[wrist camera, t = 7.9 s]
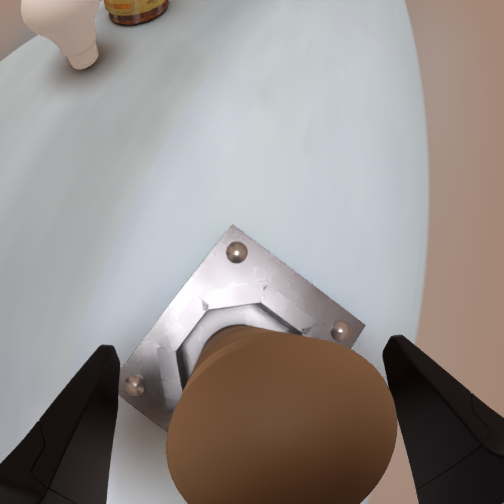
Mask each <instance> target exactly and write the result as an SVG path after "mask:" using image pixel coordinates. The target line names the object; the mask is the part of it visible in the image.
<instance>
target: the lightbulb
mask: <svg viewBox="0 0 504 504" xmlns="http://www.w3.org/2000/svg"><path fill="white" fill-rule="evenodd" d="M99 4H100V0H22V2H21V14H22V19H23V21H24V22H25V24H26V25H27V27H28V28H29V29H30V30H32V31H33V32H35V33H37V34H39V35H41V36H43V37H46V38H48V39H50V40H51V41H53V42H54V43H55V44H56V45H57V46H58V48H59V49H60V51H61V53H62V54H63V55H65V56H66V57H67V58H68V60H69V62H70V64H71V65H72V67H73V68H75V69H84V68H87V67H89V66H91V65H92V64H93V63H94V62H95V61H96V60H97V58H98V55H99V54H98V50H97V46H96V42H95V40H96V32H95V25H94V21H95V15H96V12H97V9H98V7H99Z"/></svg>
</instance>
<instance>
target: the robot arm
mask: <svg viewBox="0 0 504 504" xmlns="http://www.w3.org/2000/svg"><path fill="white" fill-rule="evenodd" d="M382 356H383V362H384V366H385V371H386V376H387V381H388V386H389V390H390V392H391V395H392V397H393V400H394V404H395V408H396V414H397V419H398V422H399V425H400V429H401V433H402V436H403V440H404V443H405V447H406V451H407V455H408V459H409V463H410V466H411V471H412V475H413V479H414V483H415V488H416V493H417V497H418V502H419V504H504V418H503V417H502V416H501V415H499V414H498V413H496V412H495V411H494V410H492V409H491V408H489V407H488V406H487V405H486V404H485V403H483V402H482V401H481V400H480V399H478V398H477V397H476V396H475V395H474V394H473V393H471V392H470V391H469V390H468V389H467V388H465V387H464V386H463V385H462V384H461V383H460V382H458V381H457V380H456V379H455V378H454V377H453V376H451V375H450V374H449V373H448V372H447V371H445V370H444V369H443V368H442V367H441V366H439V365H438V364H437V363H436V362H435V361H433V360H432V359H431V358H430V357H429V356H427V355H426V354H425V353H424V352H423V351H421V350H420V349H419V348H418V347H417V346H415V345H414V344H413V343H412V342H410V341H409V340H408V339H407V338H406V337H404V336H403V335H394V336H391V337H390V338H389V340H388V342H387V344H386V346H385V348H384V350H383V354H382ZM119 378H120V361H119V358H118V356H117V353H116V350H115V348H114V346H113V345H100V346H99V347H98V348H97V350H96V351H95V352H94V353H93V354H92V355H91V357H90V358H89V359H88V360H87V361H86V363H85V364H84V365H83V366H82V367H81V369H80V370H79V371H78V372H77V373H76V375H75V376H74V377H73V378H72V379H71V381H70V382H69V383H68V384H67V385H66V387H65V388H64V389H63V390H62V392H61V393H60V394H59V395H58V397H57V398H56V399H55V400H54V401H53V403H52V404H51V405H50V406H49V408H48V409H47V410H46V412H45V413H44V414H43V415H42V417H41V418H40V419H39V421H38V422H37V423H36V424H35V425H34V427H33V428H32V429H31V430H30V432H29V433H28V434H27V435H26V437H25V438H24V439H23V440H22V441H21V442H20V443H19V445H18V446H17V447H16V448H15V449H14V450H13V451H12V452H11V453H10V454H9V455H8V456H7V457H6V458H5V459H4V460H3V461H2V462H1V464H0V504H106V501H107V489H108V479H109V469H110V461H111V453H112V445H113V438H114V431H115V424H116V418H117V411H118V395H119Z"/></svg>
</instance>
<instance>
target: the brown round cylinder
mask: <svg viewBox="0 0 504 504" xmlns="http://www.w3.org/2000/svg"><path fill="white" fill-rule="evenodd" d="M396 437H397V414H396V408H395V404H394V400H393V397H392V395H391V392H390V390H389V387H388V386H387V384H386V382H385V380H384V379H383V377H382V376H381V375H380V373H379V372H378V371H377V370H376V369H375V367H374V366H373V365H371V364H370V363H369V362H368V361H367V360H366V359H365V358H363V357H362V356H360V355H359V354H357V353H356V352H354V351H353V350H351V349H349V348H346V347H344V346H342V345H340V344H337V343H334V342H331V341H327V340H323V339H317V338H311V337H306V336H300V335H295V334H290V333H284V332H279V331H274V330H269V329H264V328H259V327H255V326H250V325H245V324H234V325H229V326H226V327H223V328H221V329H219V330H218V331H216V332H215V333H214V334H212V335H211V336H210V337H209V338H208V340H207V341H206V343H205V344H204V346H203V348H202V351H201V353H200V355H199V357H198V359H197V362H196V364H195V366H194V368H193V370H192V373H191V375H190V377H189V379H188V382H187V384H186V386H185V388H184V390H183V393H182V395H181V397H180V399H179V401H178V404H177V406H176V408H175V410H174V413H173V416H172V419H171V422H170V424H169V429H168V434H167V445H166V454H167V461H168V467H169V470H170V473H171V476H172V479H173V481H174V483H175V485H176V487H177V489H178V491H179V492H180V494H181V495H182V497H183V498H184V499H185V501H186V502H187V503H188V504H360V503H361V502H362V501H363V500H364V499H365V498H366V497H367V496H368V495H369V494H370V493H371V491H372V490H373V489H374V488H375V486H376V485H377V484H378V482H379V481H380V479H381V478H382V476H383V474H384V473H385V471H386V469H387V467H388V464H389V462H390V460H391V457H392V454H393V451H394V447H395V442H396Z"/></svg>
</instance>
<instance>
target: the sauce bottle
mask: <svg viewBox="0 0 504 504" xmlns="http://www.w3.org/2000/svg"><path fill="white" fill-rule="evenodd" d="M104 4H105V8H106V10H107V11H108V12H109V17H110V18H111V20H112V21H114V22H116V23H120V24H125V25H135V24H137V23H141V22H144V21H148V20H150V19H152V18H155V17H156V16H158V15H160V14H161V13H162V12H163V11H164V10H165V9H166V8H167V6H168V0H104Z"/></svg>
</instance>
